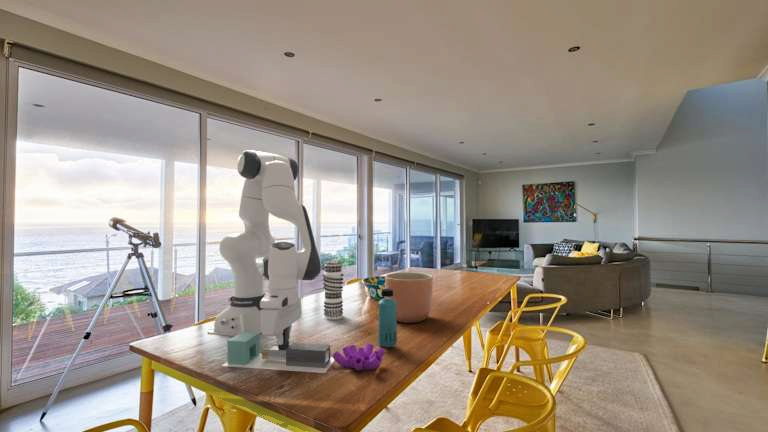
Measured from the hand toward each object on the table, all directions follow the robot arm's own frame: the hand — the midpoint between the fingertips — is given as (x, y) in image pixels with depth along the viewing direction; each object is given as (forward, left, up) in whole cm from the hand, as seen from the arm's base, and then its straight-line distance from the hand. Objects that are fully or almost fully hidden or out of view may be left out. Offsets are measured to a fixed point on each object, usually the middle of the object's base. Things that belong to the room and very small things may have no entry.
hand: (283, 341), depth 109 cm
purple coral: (+24, +1, -7) cm, 25 cm away
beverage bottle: (+29, +19, -7) cm, 35 cm away
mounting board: (-1, 0, -7) cm, 7 cm away
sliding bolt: (+4, 0, -5) cm, 6 cm away
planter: (+33, +54, -7) cm, 64 cm away
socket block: (-13, 0, -6) cm, 14 cm away
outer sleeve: (+8, 0, -6) cm, 10 cm away
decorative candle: (-1, +53, -7) cm, 54 cm away
